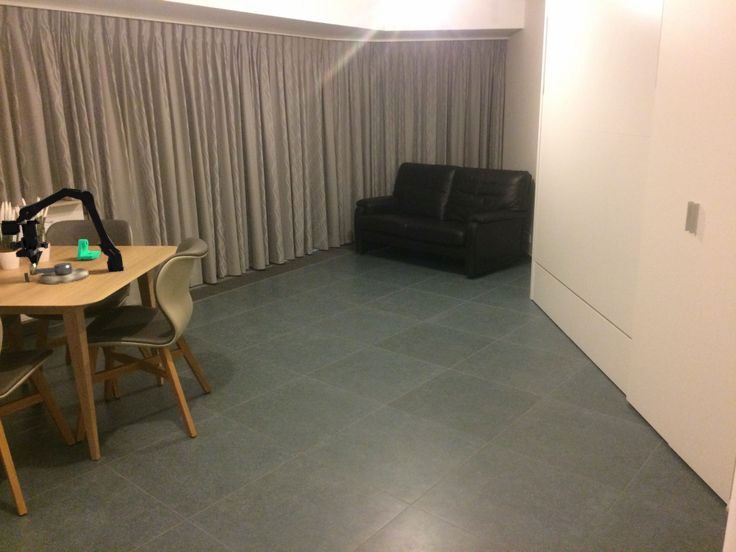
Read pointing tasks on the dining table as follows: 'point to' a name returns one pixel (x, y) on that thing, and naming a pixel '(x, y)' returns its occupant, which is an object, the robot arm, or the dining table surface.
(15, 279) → the dining table surface
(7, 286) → the dining table surface
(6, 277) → the dining table surface
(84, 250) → the camera mount
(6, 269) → the dining table surface
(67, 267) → the knob
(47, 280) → the leveling base
